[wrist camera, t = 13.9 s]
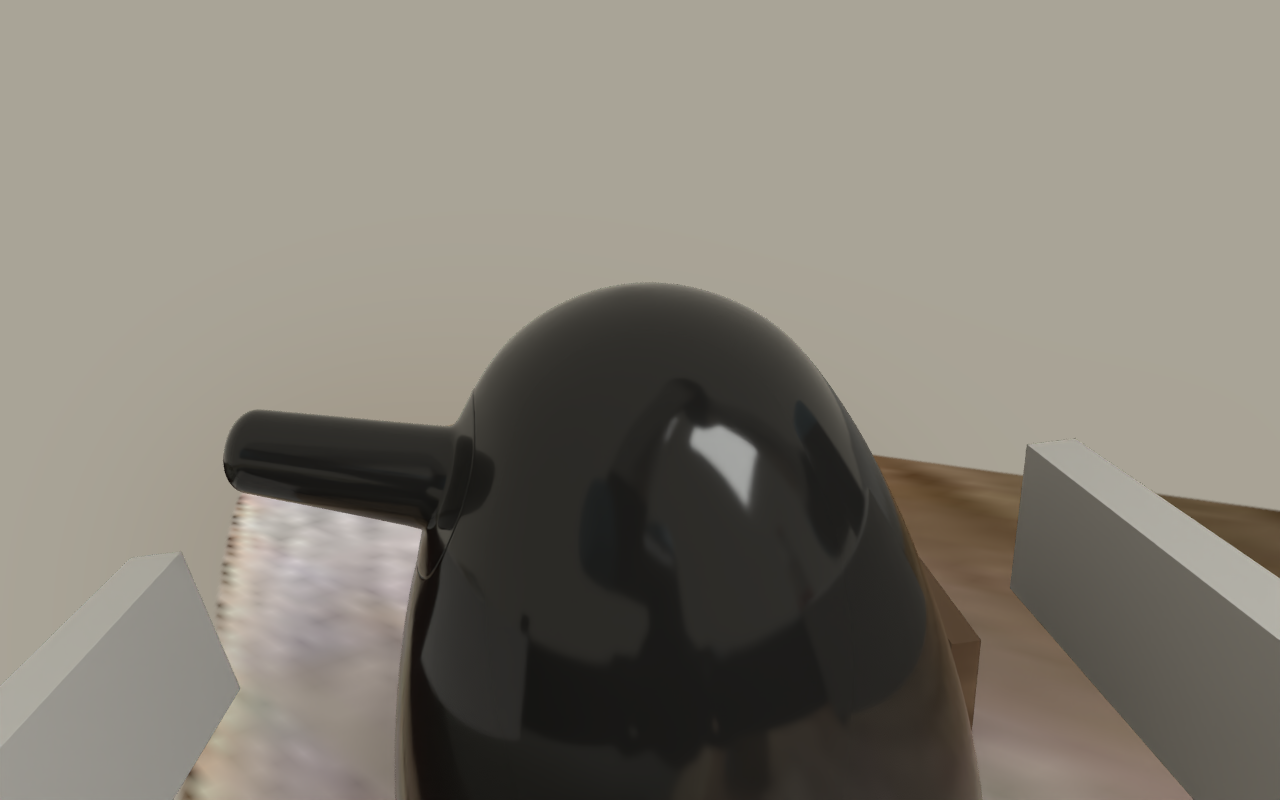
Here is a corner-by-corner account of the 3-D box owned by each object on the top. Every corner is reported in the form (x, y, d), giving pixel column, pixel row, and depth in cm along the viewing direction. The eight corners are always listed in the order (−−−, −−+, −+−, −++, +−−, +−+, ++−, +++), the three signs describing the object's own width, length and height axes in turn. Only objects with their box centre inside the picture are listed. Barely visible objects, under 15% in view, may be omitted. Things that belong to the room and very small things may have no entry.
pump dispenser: (463, 829, 19) (290, 271, 13) (824, 730, 21) (819, 193, 15) (451, 1507, 10) (-170, 663, 4) (1109, 1235, 11) (1417, 333, 5)
